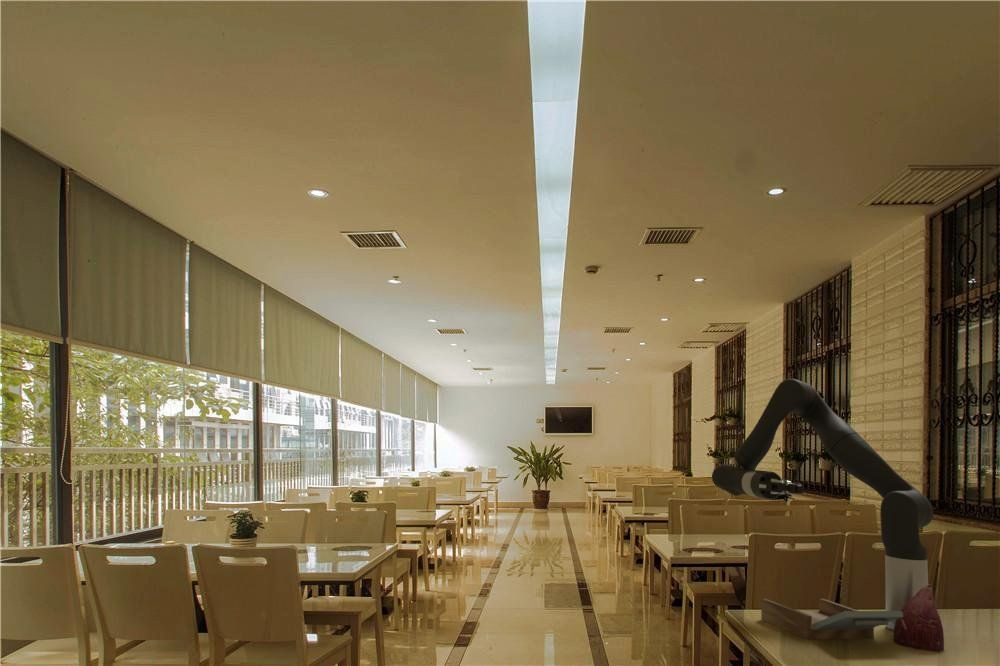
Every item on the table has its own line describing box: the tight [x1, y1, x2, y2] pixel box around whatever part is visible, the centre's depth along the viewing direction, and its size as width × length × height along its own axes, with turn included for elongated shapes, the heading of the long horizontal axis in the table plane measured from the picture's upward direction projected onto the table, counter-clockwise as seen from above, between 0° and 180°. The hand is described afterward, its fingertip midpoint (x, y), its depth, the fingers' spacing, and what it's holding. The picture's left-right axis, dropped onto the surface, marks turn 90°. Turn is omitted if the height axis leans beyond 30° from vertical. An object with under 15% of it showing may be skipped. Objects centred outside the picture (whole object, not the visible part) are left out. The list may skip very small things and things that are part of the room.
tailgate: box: [812, 610, 904, 630], centre depth 172 cm, size 14×2×12 cm
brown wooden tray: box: [760, 598, 875, 640], centre depth 186 cm, size 18×18×5 cm
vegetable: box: [892, 583, 945, 652], centre depth 177 cm, size 10×10×15 cm
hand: (800, 489), depth 199 cm, fingers closed
